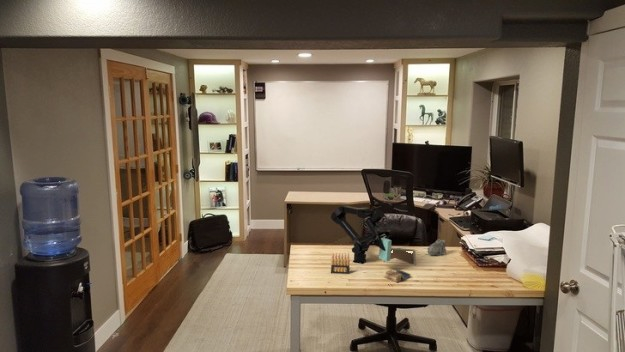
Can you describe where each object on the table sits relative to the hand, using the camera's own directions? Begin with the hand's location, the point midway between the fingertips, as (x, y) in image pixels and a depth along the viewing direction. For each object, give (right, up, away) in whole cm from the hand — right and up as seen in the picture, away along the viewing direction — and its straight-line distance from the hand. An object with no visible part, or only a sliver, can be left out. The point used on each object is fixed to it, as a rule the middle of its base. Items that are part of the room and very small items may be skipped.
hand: (386, 249), depth 246 cm
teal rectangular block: (-1, -6, +2) cm, 6 cm away
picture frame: (+13, -10, +28) cm, 32 cm away
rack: (+5, -15, -7) cm, 17 cm away
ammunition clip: (-27, -14, +1) cm, 30 cm away
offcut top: (+2, -12, -10) cm, 16 cm away
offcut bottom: (+2, -15, -9) cm, 17 cm away
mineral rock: (+38, -9, +33) cm, 51 cm away
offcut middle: (+2, -13, -9) cm, 16 cm away
